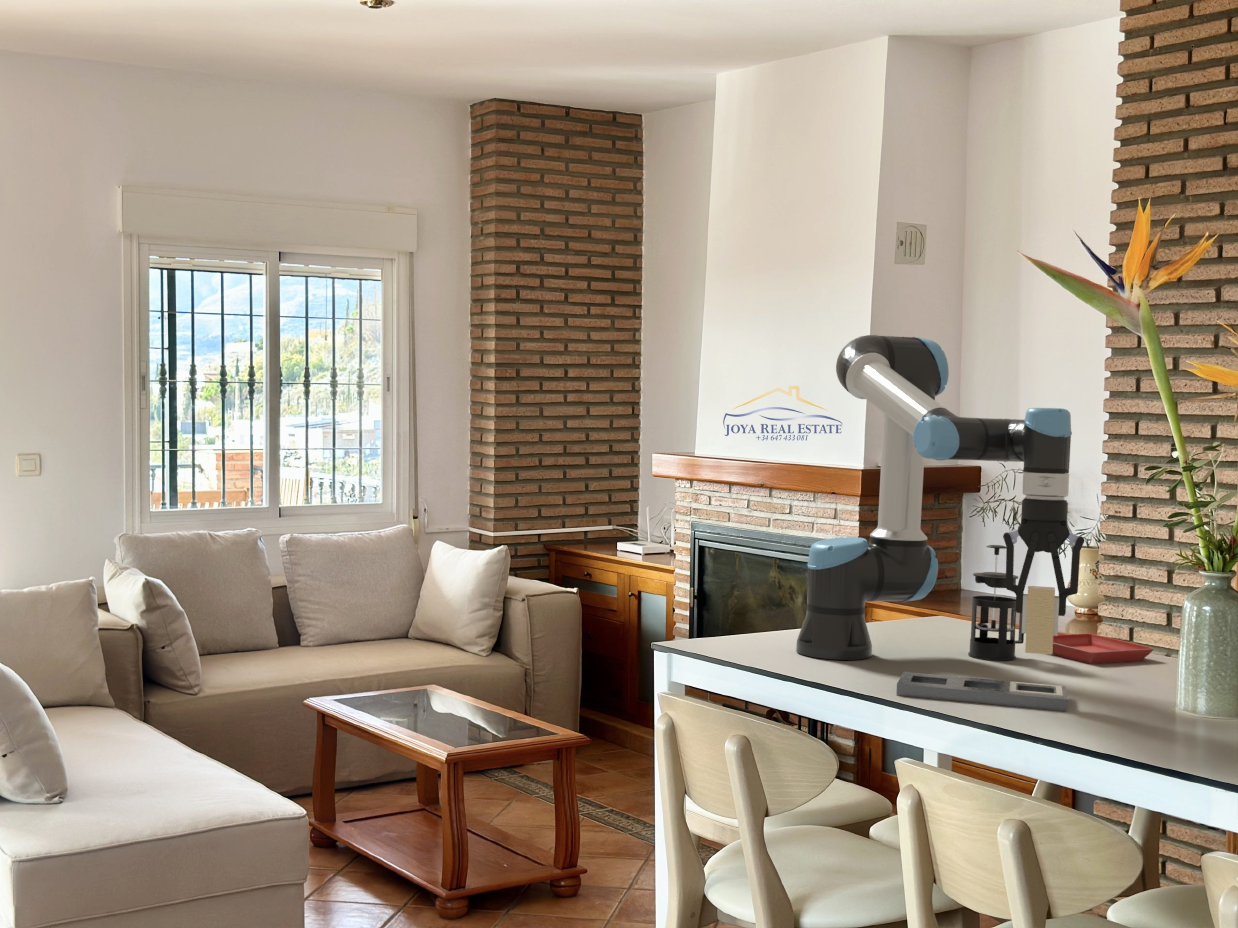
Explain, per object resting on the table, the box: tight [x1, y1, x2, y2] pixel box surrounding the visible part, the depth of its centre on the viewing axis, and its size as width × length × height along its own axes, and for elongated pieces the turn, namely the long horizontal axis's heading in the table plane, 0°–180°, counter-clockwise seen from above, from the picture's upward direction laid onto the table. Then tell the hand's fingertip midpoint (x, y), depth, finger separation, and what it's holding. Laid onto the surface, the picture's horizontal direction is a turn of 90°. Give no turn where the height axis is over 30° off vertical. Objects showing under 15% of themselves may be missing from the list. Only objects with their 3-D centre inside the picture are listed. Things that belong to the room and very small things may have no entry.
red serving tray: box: [1051, 633, 1155, 665], centre depth 278 cm, size 18×18×3 cm
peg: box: [1024, 585, 1056, 656], centre depth 228 cm, size 4×4×11 cm
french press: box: [968, 544, 1025, 662], centre depth 272 cm, size 12×9×23 cm
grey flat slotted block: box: [896, 671, 1068, 712], centre depth 231 cm, size 28×12×2 cm, turn 73°
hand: (1039, 633), depth 228 cm, fingers closed on peg, 4 cm apart
